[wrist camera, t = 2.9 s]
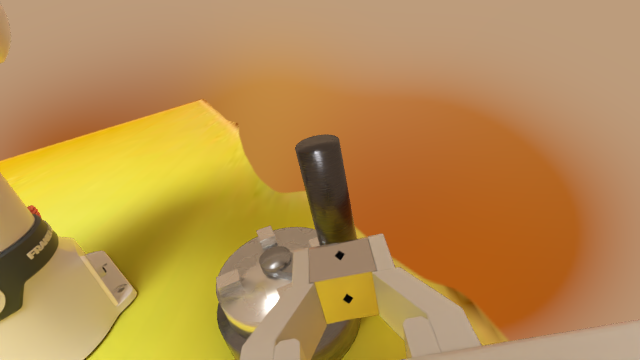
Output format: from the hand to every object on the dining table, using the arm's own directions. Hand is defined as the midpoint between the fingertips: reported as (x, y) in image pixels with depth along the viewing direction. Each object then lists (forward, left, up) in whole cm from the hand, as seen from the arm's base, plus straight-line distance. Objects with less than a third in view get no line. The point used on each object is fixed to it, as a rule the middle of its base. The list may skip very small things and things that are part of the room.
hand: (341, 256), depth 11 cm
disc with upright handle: (-15, +3, -17) cm, 23 cm away
